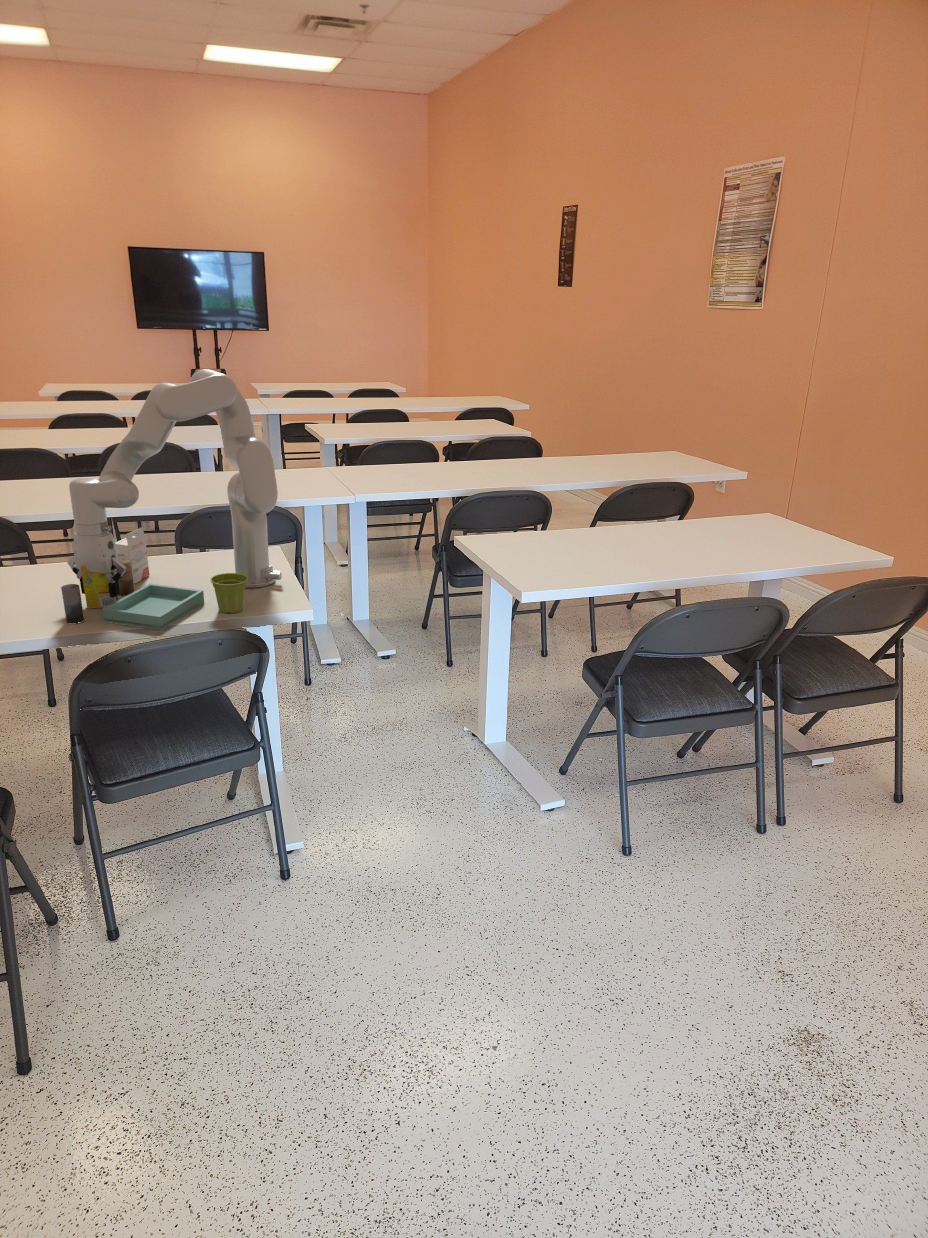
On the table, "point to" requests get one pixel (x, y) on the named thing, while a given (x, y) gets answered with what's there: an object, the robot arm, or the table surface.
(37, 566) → the table surface
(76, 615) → the graphite cylinder
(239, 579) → the plant pot
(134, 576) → the ink cartridge box
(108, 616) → the teal tray
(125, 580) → the walnut cylinder
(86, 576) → the crayon box
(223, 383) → the robot arm
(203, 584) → the table surface
